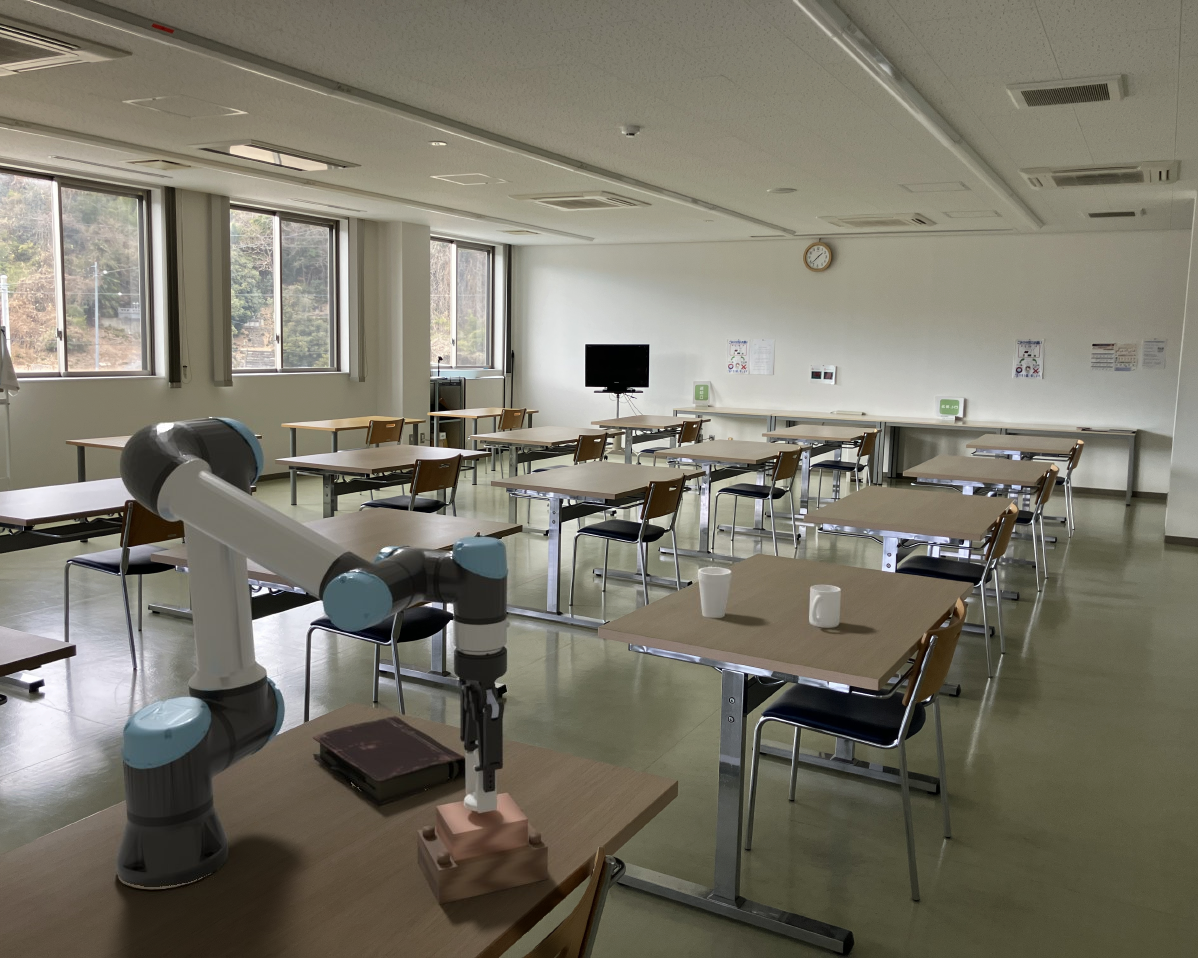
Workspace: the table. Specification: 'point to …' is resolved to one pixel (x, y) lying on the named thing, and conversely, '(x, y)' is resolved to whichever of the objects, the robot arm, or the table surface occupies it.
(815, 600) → the mug
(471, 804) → the chess piece
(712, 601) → the foam cup
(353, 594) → the robot arm
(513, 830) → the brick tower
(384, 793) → the diary
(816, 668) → the table surface
